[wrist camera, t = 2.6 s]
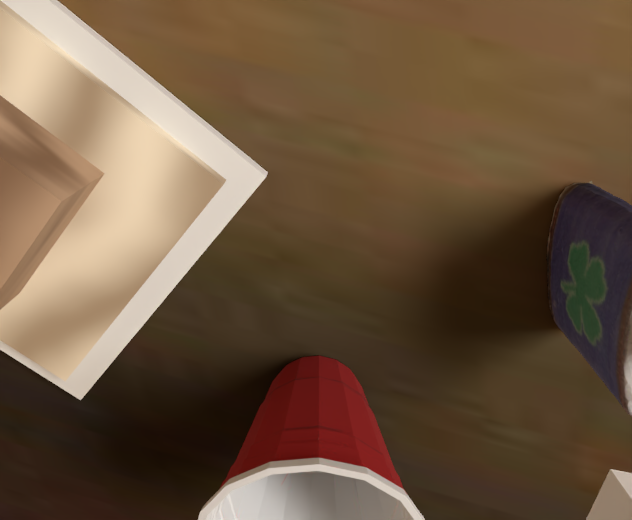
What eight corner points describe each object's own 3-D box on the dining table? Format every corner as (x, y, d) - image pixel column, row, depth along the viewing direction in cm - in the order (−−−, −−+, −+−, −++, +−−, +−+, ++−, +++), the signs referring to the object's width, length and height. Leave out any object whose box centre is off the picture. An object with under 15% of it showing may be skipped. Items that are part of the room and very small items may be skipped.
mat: (-200, 208, 32) (-216, 213, 31) (-51, -89, 26) (-65, -93, 25) (86, 390, 36) (80, 400, 35) (267, 172, 30) (266, 176, 29)
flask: (590, 326, 34) (699, 448, 24) (541, 329, 34) (629, 453, 24) (605, 177, 30) (741, 248, 20) (550, 182, 30) (658, 255, 20)
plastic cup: (232, 455, 38) (193, 631, 27) (232, 316, 34) (187, 456, 23) (390, 465, 38) (416, 644, 27) (410, 327, 34) (450, 472, 23)
